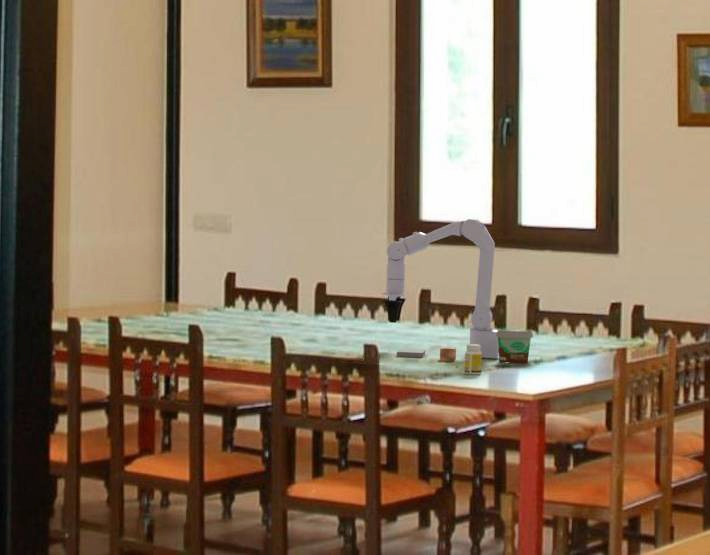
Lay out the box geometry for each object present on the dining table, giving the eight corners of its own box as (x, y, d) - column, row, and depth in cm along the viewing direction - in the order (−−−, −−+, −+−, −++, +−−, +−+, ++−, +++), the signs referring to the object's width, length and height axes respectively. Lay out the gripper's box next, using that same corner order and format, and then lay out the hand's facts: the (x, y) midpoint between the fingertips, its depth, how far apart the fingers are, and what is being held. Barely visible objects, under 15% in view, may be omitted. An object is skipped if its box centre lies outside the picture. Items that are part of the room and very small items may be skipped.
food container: (504, 364, 425) (506, 331, 424) (494, 361, 430) (496, 329, 430) (539, 363, 430) (540, 331, 429) (529, 360, 435) (530, 329, 435)
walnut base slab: (428, 359, 438) (428, 354, 438) (425, 363, 428) (425, 358, 428) (397, 357, 440) (397, 353, 440) (393, 361, 430) (393, 356, 430)
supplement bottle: (483, 373, 402) (484, 344, 402) (477, 375, 398) (478, 346, 397) (467, 372, 404) (468, 343, 404) (462, 373, 400) (463, 344, 400)
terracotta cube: (455, 361, 428) (456, 347, 428) (454, 363, 424) (454, 349, 423) (441, 361, 429) (441, 346, 429) (439, 362, 424) (440, 348, 424)
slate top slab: (425, 354, 437) (425, 350, 437) (422, 357, 430) (422, 352, 429) (399, 353, 439) (399, 349, 438) (396, 356, 431) (396, 351, 431)
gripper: (386, 277, 452) (384, 318, 453) (380, 280, 438) (378, 322, 439) (407, 278, 451) (406, 319, 452) (402, 280, 437) (401, 323, 438)
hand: (394, 321), depth 445 cm, fingers open, 7 cm apart
